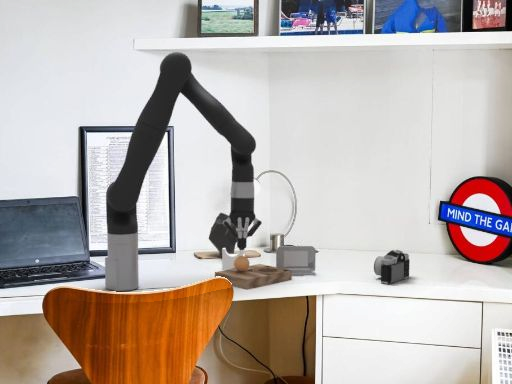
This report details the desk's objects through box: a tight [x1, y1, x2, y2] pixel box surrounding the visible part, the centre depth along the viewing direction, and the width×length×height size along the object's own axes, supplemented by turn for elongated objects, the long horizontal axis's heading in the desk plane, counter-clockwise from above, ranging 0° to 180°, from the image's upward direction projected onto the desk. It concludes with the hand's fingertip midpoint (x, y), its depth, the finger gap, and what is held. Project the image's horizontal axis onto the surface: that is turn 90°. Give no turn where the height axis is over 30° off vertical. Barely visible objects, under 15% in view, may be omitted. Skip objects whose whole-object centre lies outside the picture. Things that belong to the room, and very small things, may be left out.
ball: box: [234, 256, 250, 272], centre depth 215 cm, size 5×5×5 cm
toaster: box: [275, 245, 317, 277], centre depth 228 cm, size 13×9×10 cm
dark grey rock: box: [208, 212, 237, 256], centre depth 253 cm, size 14×15×18 cm
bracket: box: [221, 248, 246, 271], centre depth 239 cm, size 13×7×8 cm, turn 177°
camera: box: [373, 249, 410, 285], centre depth 219 cm, size 16×9×10 cm, turn 138°
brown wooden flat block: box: [214, 263, 293, 290], centre depth 216 cm, size 20×15×3 cm
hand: (241, 249), depth 215 cm, fingers closed
